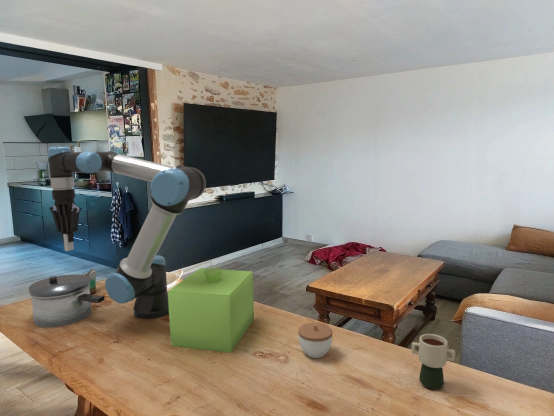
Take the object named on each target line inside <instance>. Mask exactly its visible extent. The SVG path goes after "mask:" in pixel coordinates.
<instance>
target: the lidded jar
mask: <svg viewBox="0 0 554 416" xmlns="http://www.w3.org/2000/svg"><path fill="white" fill-rule="evenodd" d="M297 331H298V334H297V335H298V342H299V343H298V344H299V346H300V348H301V350H302V351H303V353H305V355H306V356H308V357H309V358H312V359H320V358H323V357H324V356H325V355H326V354H327V353H328V352H329V350H330V349H331V346H332V341H333V329H332V328H331V327H330V326H329V325H327V324H325V323H320V322H309V323H304V324H302V325H301V326H300V327H299V328H298V330H297Z"/></svg>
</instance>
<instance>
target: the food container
mask: <svg viewBox="0 0 554 416" xmlns="http://www.w3.org/2000/svg"><path fill="white" fill-rule="evenodd" d="M81 275H86V276H88V277H89V278H90V286H89V290H90V294H91V295H96V293H97V287H96V286H97V277H98V273H97V271H96V270H95V269H92V268H90V270H89V271H87V272H85V273H82V274H81Z"/></svg>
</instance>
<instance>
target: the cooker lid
mask: <svg viewBox="0 0 554 416" xmlns="http://www.w3.org/2000/svg"><path fill="white" fill-rule="evenodd" d="M89 284H90V278H89V277H88V276H86V275H82V274H80V273H79V274H62V275H55V276H49V277H48V278H47V277H46V278H43V279H40V280H38V281H35V282H34V283H32V284H31V285H29V286H28V293H29V295H30V294H31V295H33V296H39V297H49V296H59V295H64V294H69V293H73V292H76V291H79V290H81V289H83V288H85V287H87V286H88V285H89Z"/></svg>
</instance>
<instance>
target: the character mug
mask: <svg viewBox="0 0 554 416" xmlns="http://www.w3.org/2000/svg"><path fill="white" fill-rule="evenodd" d="M448 344H449V342H448V340H447V339H446V338H445V337H443V336H442V335H440V334H434V333H424V334H422V335H420V336H419V341H418V342H415V341H413V342H412V343H411V353H412V354H413V355H418V360H419V362H420V363H421V368H420V370H419V371H420V372H419V378H418V379H419V382H420V384H422V386H424V387H426V388H428V389H432V390H435V389H436V390H438V389H441V388H443V386H444V385H445V379H444V370H443V367H445V366H446V364H447V362H455V360H456V351H455V349H453V348H452V349H451V348H448V347H449V345H448ZM416 347H418V350H416ZM448 353H449V354H450V356H448Z"/></svg>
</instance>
